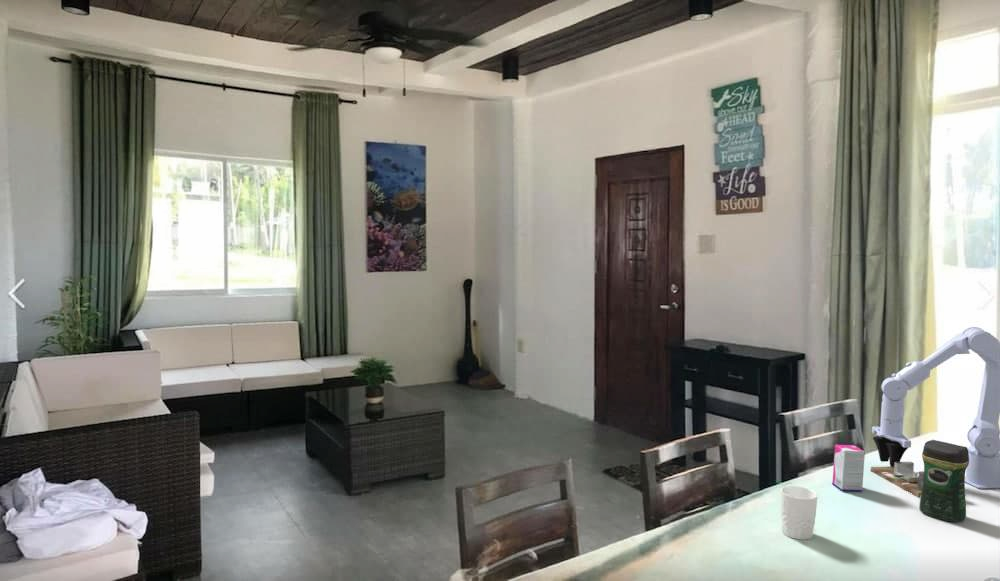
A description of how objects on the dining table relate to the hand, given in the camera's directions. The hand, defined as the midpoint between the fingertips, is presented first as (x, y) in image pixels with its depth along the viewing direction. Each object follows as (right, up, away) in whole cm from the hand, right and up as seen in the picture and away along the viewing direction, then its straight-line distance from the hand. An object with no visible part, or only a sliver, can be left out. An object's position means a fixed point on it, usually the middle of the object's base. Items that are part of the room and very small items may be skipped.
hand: (889, 463), depth 200 cm
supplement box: (-19, -4, -13) cm, 23 cm away
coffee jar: (-4, -5, -30) cm, 31 cm away
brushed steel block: (0, -2, -10) cm, 10 cm away
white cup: (-45, -6, -41) cm, 61 cm away
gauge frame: (+1, -3, -9) cm, 9 cm away
